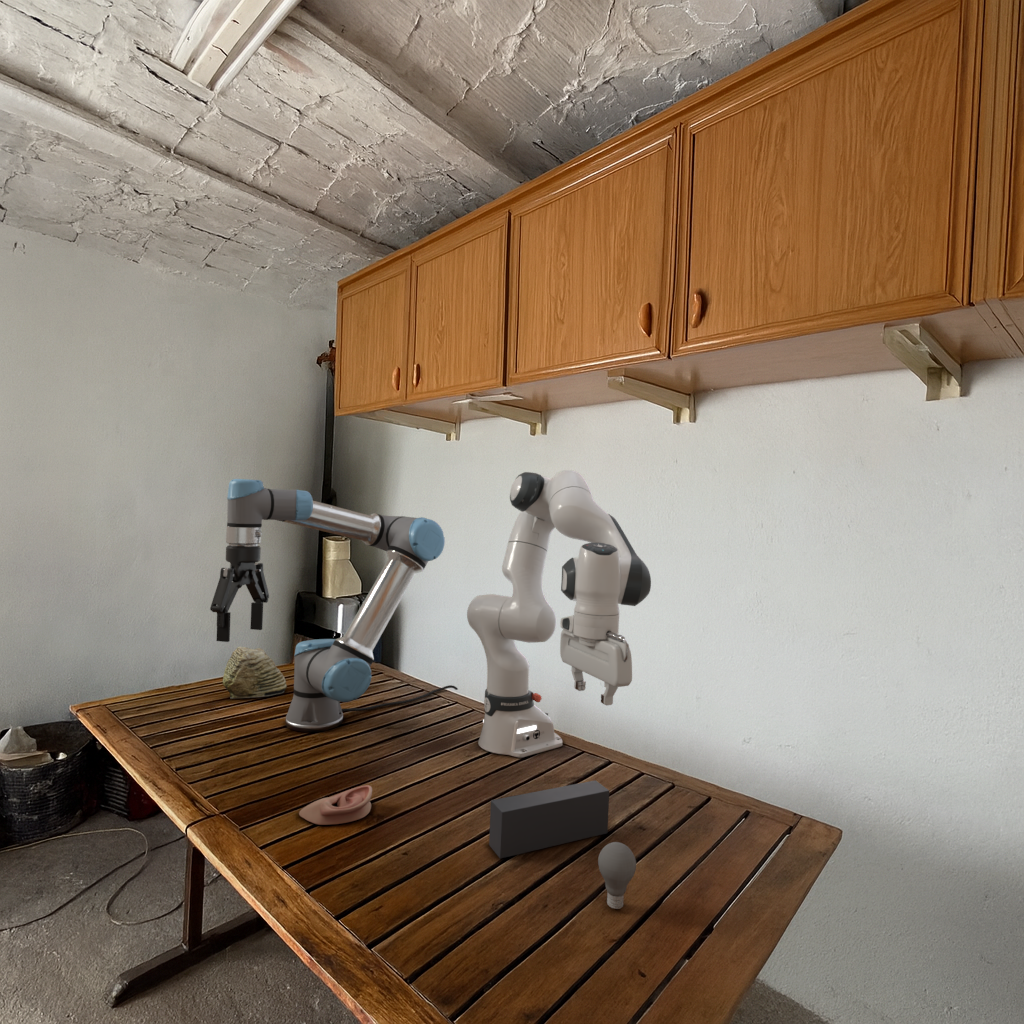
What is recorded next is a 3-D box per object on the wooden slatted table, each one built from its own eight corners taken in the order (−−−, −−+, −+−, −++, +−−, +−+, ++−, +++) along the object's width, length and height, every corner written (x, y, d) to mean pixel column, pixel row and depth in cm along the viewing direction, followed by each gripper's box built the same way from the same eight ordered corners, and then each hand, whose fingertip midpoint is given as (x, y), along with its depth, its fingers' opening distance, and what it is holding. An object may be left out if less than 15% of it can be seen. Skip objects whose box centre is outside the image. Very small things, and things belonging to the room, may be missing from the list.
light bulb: (592, 894, 104) (595, 834, 104) (628, 894, 104) (631, 834, 104) (600, 919, 98) (603, 855, 98) (638, 918, 99) (641, 855, 98)
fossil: (218, 695, 195) (220, 647, 195) (278, 685, 208) (279, 640, 207) (228, 703, 189) (230, 653, 188) (289, 692, 201) (290, 645, 201)
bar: (500, 858, 114) (502, 812, 113) (488, 845, 118) (490, 800, 118) (607, 833, 124) (609, 790, 124) (593, 821, 128) (595, 780, 128)
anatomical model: (291, 800, 123) (320, 775, 134) (290, 820, 123) (320, 794, 134) (354, 810, 120) (379, 784, 132) (353, 830, 121) (378, 803, 132)
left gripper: (226, 549, 136) (223, 648, 136) (285, 542, 160) (282, 626, 161) (194, 547, 137) (191, 645, 137) (257, 541, 161) (254, 623, 162)
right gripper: (642, 636, 116) (638, 711, 116) (581, 616, 134) (578, 681, 134) (614, 638, 113) (610, 715, 113) (556, 617, 131) (553, 683, 132)
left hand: (240, 635), depth 149 cm, fingers open, 13 cm apart
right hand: (592, 696), depth 124 cm, fingers open, 8 cm apart
